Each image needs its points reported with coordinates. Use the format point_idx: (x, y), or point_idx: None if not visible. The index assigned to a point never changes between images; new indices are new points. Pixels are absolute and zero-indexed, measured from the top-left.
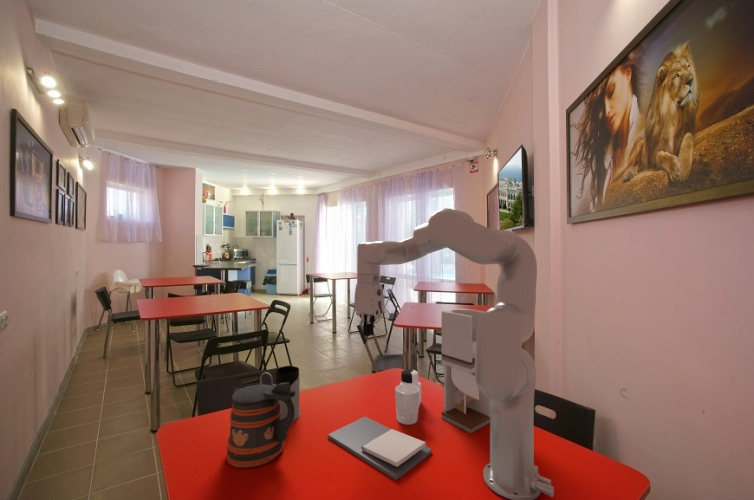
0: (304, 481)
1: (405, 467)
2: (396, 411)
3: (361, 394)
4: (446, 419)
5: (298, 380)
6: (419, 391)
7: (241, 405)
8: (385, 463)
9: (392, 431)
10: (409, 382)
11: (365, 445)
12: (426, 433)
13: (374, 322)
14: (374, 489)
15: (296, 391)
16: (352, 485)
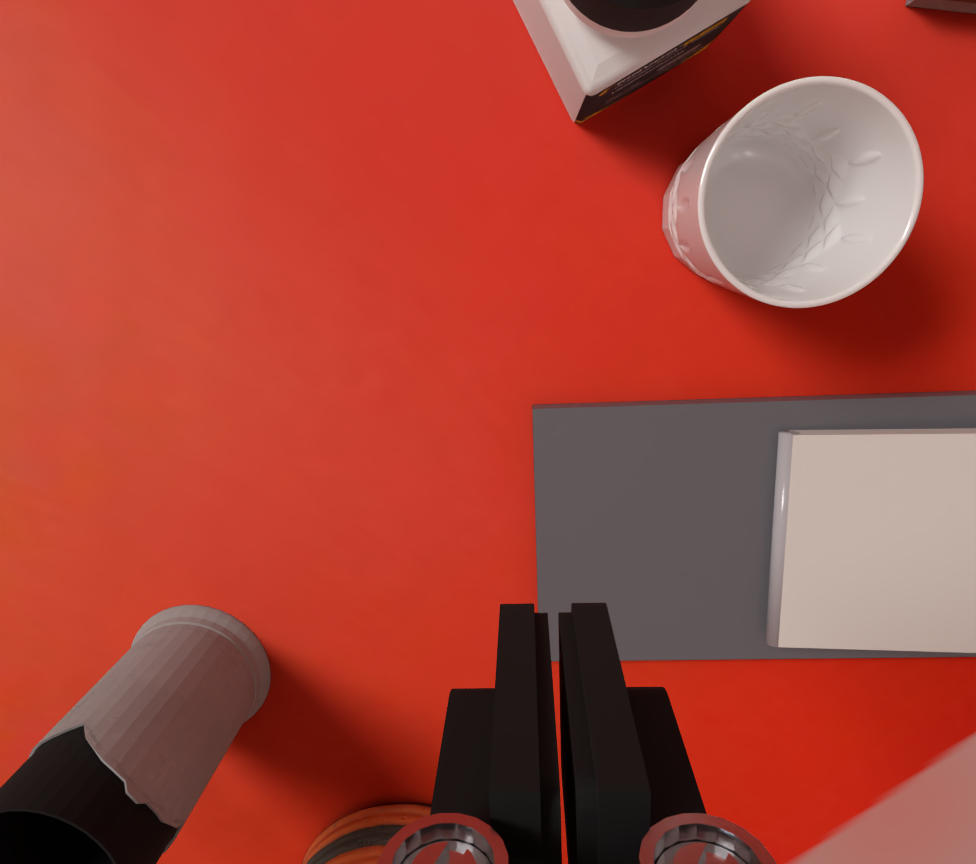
0: None
1: None
2: (696, 272)
3: (236, 174)
4: (954, 8)
5: (147, 782)
6: None
7: None
8: None
9: (814, 454)
10: (689, 6)
11: (783, 633)
12: (917, 253)
13: (747, 845)
14: (951, 729)
15: (193, 751)
16: (867, 766)
